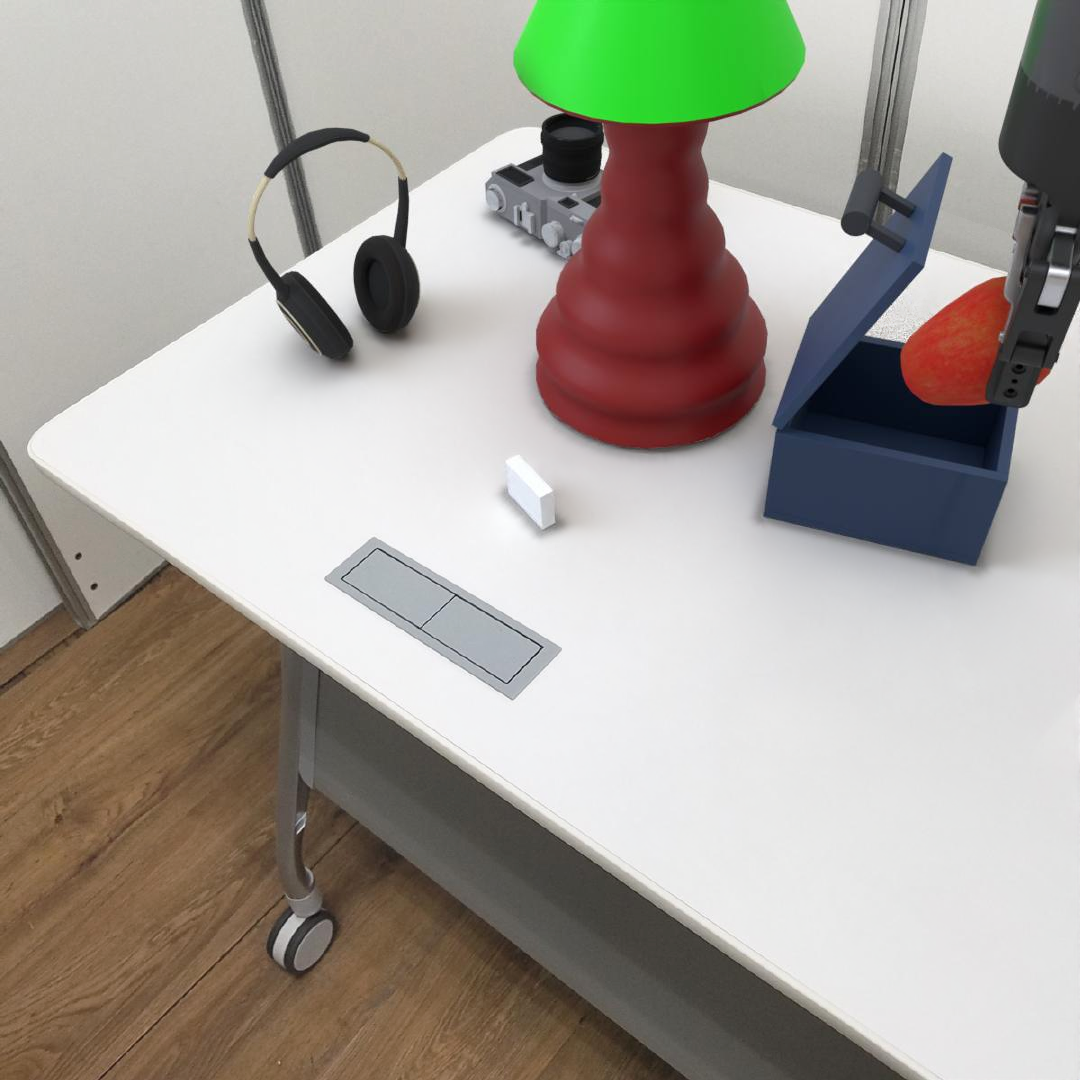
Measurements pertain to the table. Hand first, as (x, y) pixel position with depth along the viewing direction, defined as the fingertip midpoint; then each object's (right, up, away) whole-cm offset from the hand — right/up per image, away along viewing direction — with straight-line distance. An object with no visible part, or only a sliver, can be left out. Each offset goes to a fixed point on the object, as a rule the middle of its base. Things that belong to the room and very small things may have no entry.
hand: (1011, 360), depth 60 cm
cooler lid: (-4, +6, +14) cm, 16 cm away
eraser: (-27, -7, +26) cm, 38 cm away
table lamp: (-16, +4, +35) cm, 39 cm away
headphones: (-43, +9, +41) cm, 60 cm away
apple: (-4, -1, +3) cm, 5 cm away
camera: (-23, +22, +51) cm, 60 cm away
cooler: (+1, -5, +25) cm, 26 cm away
